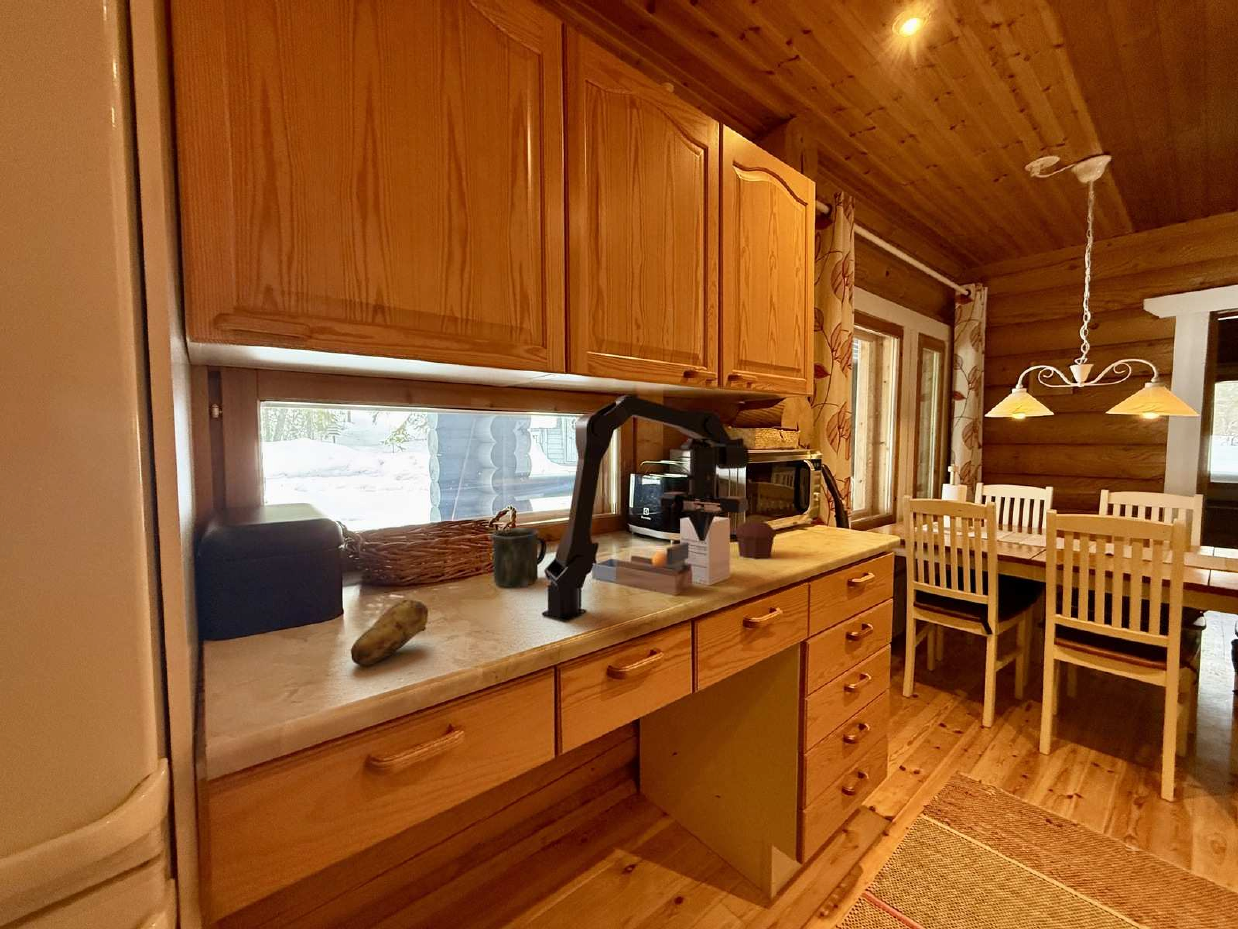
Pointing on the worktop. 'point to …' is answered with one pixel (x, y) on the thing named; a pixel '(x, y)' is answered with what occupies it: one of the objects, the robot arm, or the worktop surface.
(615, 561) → the flat blue-grey box
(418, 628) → the potato
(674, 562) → the dark grey upright block
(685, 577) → the launcher track
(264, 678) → the worktop surface
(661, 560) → the ball
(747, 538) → the muffin
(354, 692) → the worktop surface
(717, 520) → the supplement box
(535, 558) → the mug
